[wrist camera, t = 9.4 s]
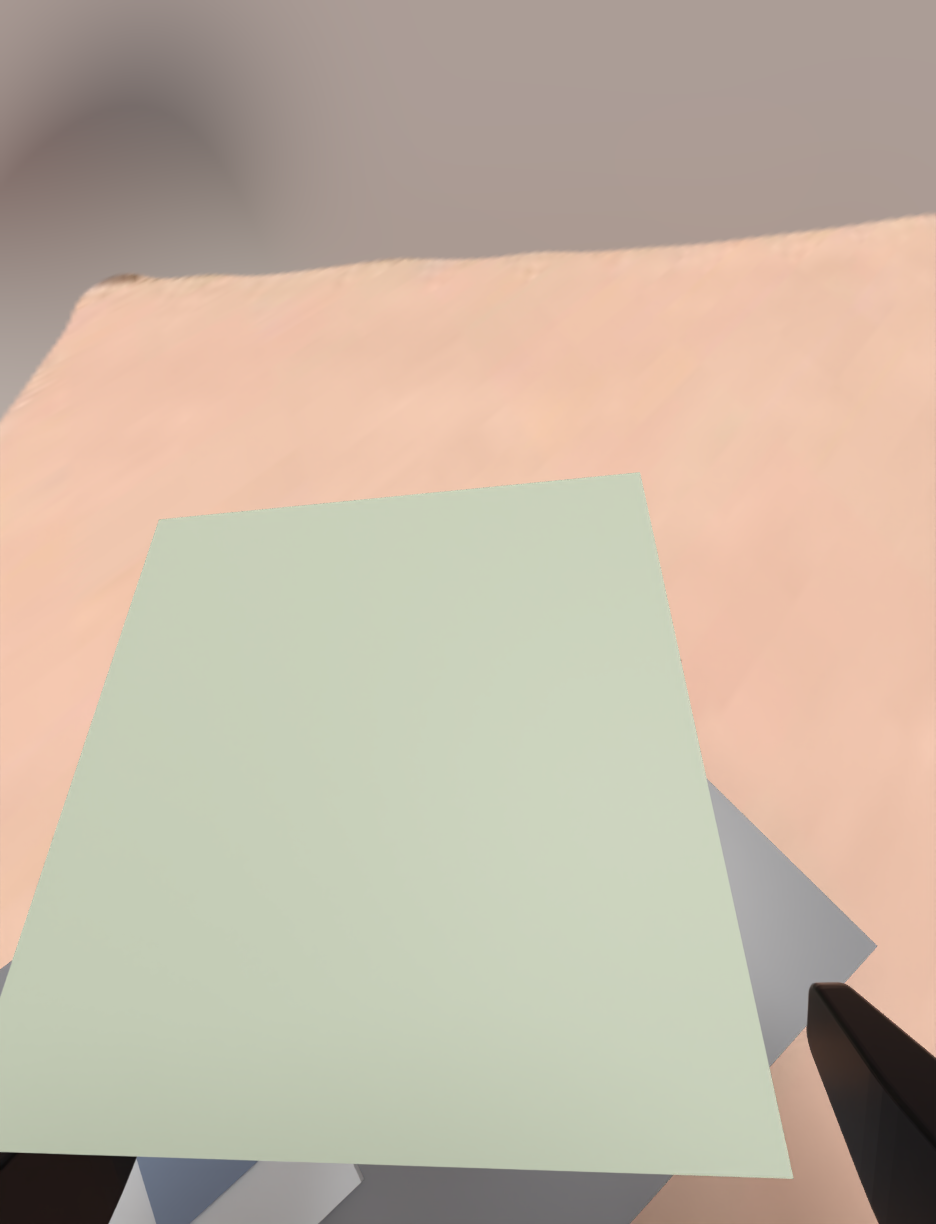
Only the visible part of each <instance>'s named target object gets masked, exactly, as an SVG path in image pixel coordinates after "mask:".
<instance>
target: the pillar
mask: <svg viewBox="0 0 936 1224" xmlns="http://www.w3.org/2000/svg"><path fill="white" fill-rule="evenodd" d="M0 1152H19V1153H48V1154H78V1155H107V1156H137V1157H166V1158H196V1159H225V1160H255V1161H284V1162H314V1163H343V1164H373V1165H402V1166H432V1167H461V1168H491V1169H520V1170H550V1171H579V1172H609V1173H638V1174H668V1175H697V1176H727V1177H756V1178H786V1179H794V1178H793V1174H792V1169H791V1165H790V1160H789V1155H788V1151H787V1146H786V1142H785V1137H784V1132H783V1128H782V1123H781V1119H780V1114H779V1109H778V1105H777V1100H776V1096H775V1091H774V1087H773V1082H772V1077H771V1073H770V1068H769V1064H768V1059H767V1054H766V1050H765V1045H764V1041H763V1036H762V1031H761V1027H760V1022H759V1018H758V1013H757V1008H756V1004H755V999H754V995H753V990H752V985H751V981H750V976H749V972H748V967H747V962H746V958H745V953H744V949H743V944H742V939H741V935H740V930H739V926H738V921H737V916H736V912H735V907H734V903H733V898H732V893H731V889H730V884H729V880H728V875H727V870H726V866H725V861H724V857H723V852H722V847H721V843H720V838H719V834H718V829H717V824H716V820H715V815H714V811H713V806H712V802H711V797H710V792H709V788H708V783H707V779H706V774H705V769H704V765H703V760H702V756H701V751H700V746H699V742H698V737H697V733H696V728H695V723H694V719H693V714H692V710H691V705H690V700H689V696H688V691H687V687H686V682H685V677H684V673H683V668H682V664H681V659H680V654H679V650H678V645H677V641H676V636H675V631H674V627H673V622H672V618H671V613H670V608H669V604H668V599H667V595H666V590H665V585H664V581H663V576H662V572H661V567H660V562H659V558H658V553H657V549H656V544H655V539H654V535H653V530H652V526H651V521H650V517H649V512H648V507H647V503H646V498H645V494H644V489H643V484H642V480H641V475H640V472H639V473H628V474H618V475H608V476H598V477H588V478H577V479H567V480H557V481H547V482H537V483H527V484H516V485H506V486H496V487H486V488H476V489H466V490H455V491H445V492H435V493H425V494H415V495H405V496H394V497H384V498H374V499H364V500H354V501H343V502H333V503H323V504H313V505H303V506H293V507H282V508H272V509H262V510H252V511H242V512H232V513H221V514H211V515H201V516H191V517H181V518H171V519H160V520H159V521H158V524H157V527H156V530H155V533H154V536H153V539H152V542H151V545H150V548H149V551H148V554H147V557H146V560H145V564H144V567H143V570H142V573H141V576H140V579H139V582H138V585H137V588H136V591H135V594H134V597H133V600H132V603H131V606H130V609H129V612H128V615H127V618H126V621H125V624H124V627H123V630H122V633H121V636H120V639H119V642H118V645H117V648H116V651H115V654H114V657H113V660H112V663H111V666H110V669H109V672H108V675H107V678H106V681H105V684H104V687H103V690H102V693H101V696H100V699H99V702H98V705H97V708H96V711H95V714H94V717H93V720H92V723H91V726H90V729H89V732H88V735H87V738H86V741H85V744H84V747H83V750H82V753H81V756H80V759H79V762H78V765H77V768H76V771H75V774H74V777H73V780H72V783H71V786H70V789H69V792H68V795H67V798H66V801H65V804H64V807H63V810H62V813H61V816H60V819H59V822H58V825H57V828H56V831H55V834H54V837H53V840H52V843H51V846H50V849H49V852H48V855H47V858H46V861H45V864H44V867H43V870H42V873H41V876H40V879H39V882H38V885H37V888H36V891H35V894H34V897H33V900H32V903H31V906H30V909H29V912H28V915H27V918H26V921H25V924H24V927H23V930H22V933H21V936H20V939H19V942H18V945H17V948H16V951H15V954H14V957H13V960H12V963H11V966H10V969H9V972H8V975H7V978H6V981H5V984H4V987H3V990H2V993H1V996H0Z"/></svg>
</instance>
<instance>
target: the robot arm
mask: <svg viewBox="0 0 936 1224" xmlns="http://www.w3.org/2000/svg"><path fill="white" fill-rule="evenodd" d="M807 1038H808V1043H809V1047H810V1050H811V1053H812V1056H813V1058H814V1061H815V1063H816V1066H817V1069H818V1071H819V1074H820V1077H821V1079H822V1082H823V1084H824V1087H825V1090H826V1092H827V1095H828V1097H829V1100H830V1103H831V1105H832V1108H833V1110H834V1113H835V1116H836V1118H837V1121H838V1123H839V1126H840V1129H841V1131H842V1134H843V1136H844V1139H845V1142H846V1144H847V1147H848V1149H849V1152H850V1155H851V1157H852V1160H853V1162H854V1165H855V1168H856V1170H857V1173H858V1175H859V1178H860V1180H861V1183H862V1185H863V1188H864V1190H865V1193H866V1195H867V1198H868V1200H869V1203H870V1205H871V1208H872V1210H873V1212H874V1214H875V1216H876V1219H877V1221H878V1223H879V1224H936V1058H935V1057H934V1056H933V1055H932V1054H931V1053H929V1052H928V1051H927V1050H926V1049H925V1048H923V1047H922V1046H921V1045H920V1044H919V1043H917V1042H916V1041H915V1040H914V1039H913V1038H911V1037H910V1036H909V1035H908V1034H907V1033H905V1032H904V1031H903V1030H902V1029H901V1028H899V1027H898V1026H897V1025H896V1024H895V1023H893V1022H892V1021H891V1020H890V1019H889V1018H887V1017H886V1016H885V1015H884V1014H883V1013H881V1012H880V1011H879V1010H878V1009H877V1008H875V1007H874V1006H873V1005H872V1004H870V1003H869V1002H868V1001H867V1000H866V999H864V998H863V997H862V996H861V995H860V994H858V993H857V992H856V991H855V990H854V989H852V988H851V987H850V986H848V985H846V984H844V983H841V982H816V983H812V984H811V986H810V987H809V992H808V1011H807ZM136 1158H137V1156H107V1155H78V1154H48V1153H19V1152H0V1224H109V1222H110V1220H111V1218H112V1216H113V1213H114V1211H115V1209H116V1207H117V1204H118V1202H119V1200H120V1198H121V1195H122V1193H123V1191H124V1188H125V1186H126V1183H127V1181H128V1179H129V1176H130V1174H131V1171H132V1169H133V1166H134V1164H135V1161H136Z"/></svg>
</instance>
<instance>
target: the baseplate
mask: <svg viewBox="0 0 936 1224" xmlns="http://www.w3.org/2000/svg"><path fill="white" fill-rule="evenodd" d="M706 779H707V778H706ZM707 783H708V788H709V792H710V797H711V802H712V806H713V811H714V815H715V820H716V824H717V829H718V834H719V838H720V843H721V847H722V852H723V857H724V861H725V866H726V870H727V875H728V880H729V884H730V889H731V893H732V898H733V903H734V907H735V912H736V916H737V921H738V926H739V930H740V935H741V939H742V944H743V949H744V953H745V958H746V962H747V967H748V972H749V976H750V981H751V985H752V990H753V995H754V999H755V1004H756V1008H757V1013H758V1018H759V1022H760V1027H761V1031H762V1036H763V1041H764V1045H765V1050H766V1054H767V1059H768V1064H769V1067H770V1066H771V1065H772V1064H773V1063H774V1062H775V1060H776V1059H777V1058H778V1057H779V1056H780V1055H781V1054H782V1053H783V1051H784V1050H785V1049H786V1048H787V1047H788V1046H789V1045H790V1044H791V1043H792V1041H793V1040H794V1039H795V1038H796V1037H797V1036H798V1035H799V1034H800V1032H801V1031H802V1030H803V1029H804V1028H805V1027H806V1026H807V1011H808V992H809V987H810V986H811V984H812V983H816V982H841V983H845V982H846V981H847V980H848V979H849V977H850V976H851V975H852V974H853V973H854V972H855V971H856V970H857V969H858V967H859V966H860V965H861V964H862V963H863V962H864V961H865V960H866V958H867V957H868V956H869V955H870V954H871V953H872V952H873V951H874V949H875V948H876V947H877V945H876V944H875V943H874V942H873V941H872V940H871V939H870V938H869V937H868V936H867V935H866V934H865V933H864V932H862V931H861V930H860V929H859V928H858V927H857V926H856V925H855V924H854V923H853V922H852V921H851V920H850V919H849V918H848V917H847V916H846V915H845V914H844V913H843V912H842V911H841V910H840V909H839V908H838V907H837V906H836V905H835V904H834V903H833V902H832V901H831V900H830V899H829V898H828V897H827V896H826V895H825V894H824V893H823V892H822V891H821V890H820V889H819V888H818V887H817V886H816V885H815V884H814V883H813V882H812V881H811V880H810V879H809V878H807V877H806V876H805V875H804V874H803V873H802V872H801V871H800V870H799V869H798V868H797V867H796V866H795V865H794V864H793V863H792V862H791V861H790V860H789V859H788V858H787V857H786V856H785V855H784V854H783V853H782V852H781V851H780V850H779V849H778V848H777V847H776V846H775V845H774V844H773V843H772V842H771V841H770V840H769V839H768V838H767V837H766V836H765V835H764V834H763V833H762V832H761V831H760V830H759V829H758V828H757V827H756V826H755V825H753V824H752V823H751V822H750V821H749V820H748V819H747V818H746V817H745V816H744V815H743V814H742V813H741V812H740V811H739V810H738V809H737V808H736V807H735V806H734V805H733V804H732V803H731V802H730V801H729V800H728V799H727V798H726V797H725V796H724V795H723V794H722V793H721V792H720V791H719V790H718V789H717V788H716V787H715V786H714V785H713V784H712V783H711V782H710V781H709V780H708V779H707ZM11 963H12V961H11V962H10V963H8V964H7V965H6V966H4V967H3V968H1V969H0V996H1V993H2V990H3V987H4V984H5V981H6V978H7V975H8V972H9V969H10V966H11ZM672 1176H673V1175H668V1174H638V1173H609V1172H579V1171H550V1170H520V1169H491V1168H461V1167H432V1166H402V1165H373V1164H343V1163H314V1162H284V1161H255V1160H225V1159H196V1158H166V1157H137V1158H136V1161H135V1164H134V1166H133V1169H132V1171H131V1174H130V1176H129V1179H128V1181H127V1183H126V1186H125V1188H124V1191H123V1193H122V1195H121V1198H120V1200H119V1202H118V1204H117V1207H116V1209H115V1211H114V1213H113V1216H112V1218H111V1220H110V1222H109V1224H630V1223H631V1222H632V1221H633V1220H634V1219H635V1217H636V1216H637V1215H638V1214H639V1213H640V1212H641V1211H642V1210H643V1208H644V1207H645V1206H646V1205H647V1204H648V1203H649V1202H650V1201H651V1200H652V1198H653V1197H654V1196H655V1195H656V1194H657V1193H658V1192H659V1191H660V1189H661V1188H662V1187H663V1186H664V1185H665V1184H666V1183H667V1182H668V1180H669V1179H670V1178H671V1177H672Z"/></svg>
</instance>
